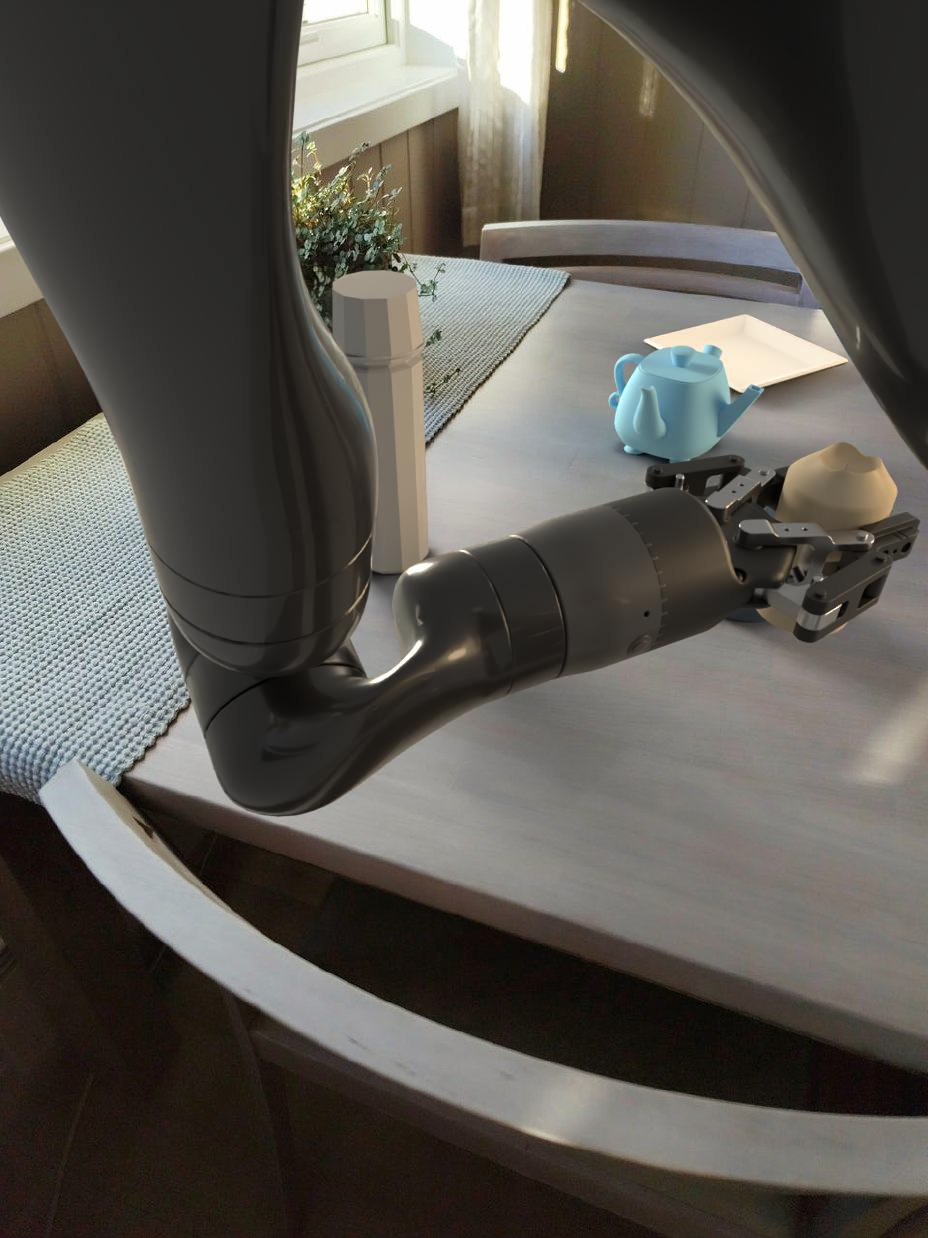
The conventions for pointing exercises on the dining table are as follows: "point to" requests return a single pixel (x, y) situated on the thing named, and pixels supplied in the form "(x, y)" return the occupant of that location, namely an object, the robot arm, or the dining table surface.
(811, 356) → the plate
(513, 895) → the dining table surface
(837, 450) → the candle
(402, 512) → the water bottle
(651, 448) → the teapot
